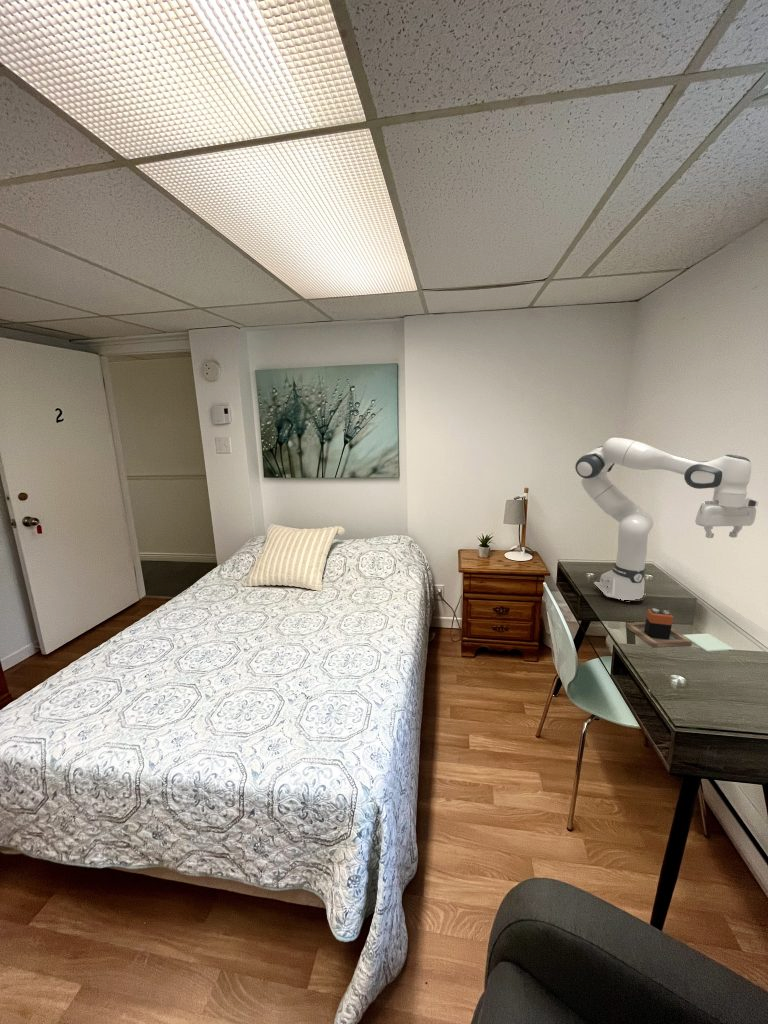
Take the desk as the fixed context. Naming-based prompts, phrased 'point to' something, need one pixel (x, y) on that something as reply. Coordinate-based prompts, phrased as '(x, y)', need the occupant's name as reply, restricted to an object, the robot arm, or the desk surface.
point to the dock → (664, 643)
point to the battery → (658, 623)
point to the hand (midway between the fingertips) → (721, 537)
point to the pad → (708, 642)
